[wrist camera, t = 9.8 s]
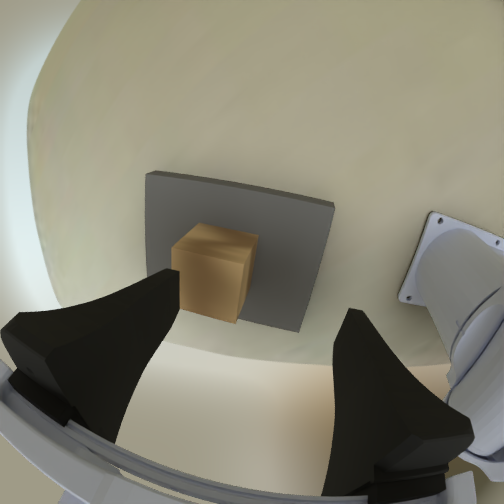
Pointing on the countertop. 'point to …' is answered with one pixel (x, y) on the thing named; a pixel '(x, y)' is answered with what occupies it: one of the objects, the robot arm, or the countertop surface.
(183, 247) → the oak cube
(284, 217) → the charcoal mat
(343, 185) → the countertop surface
